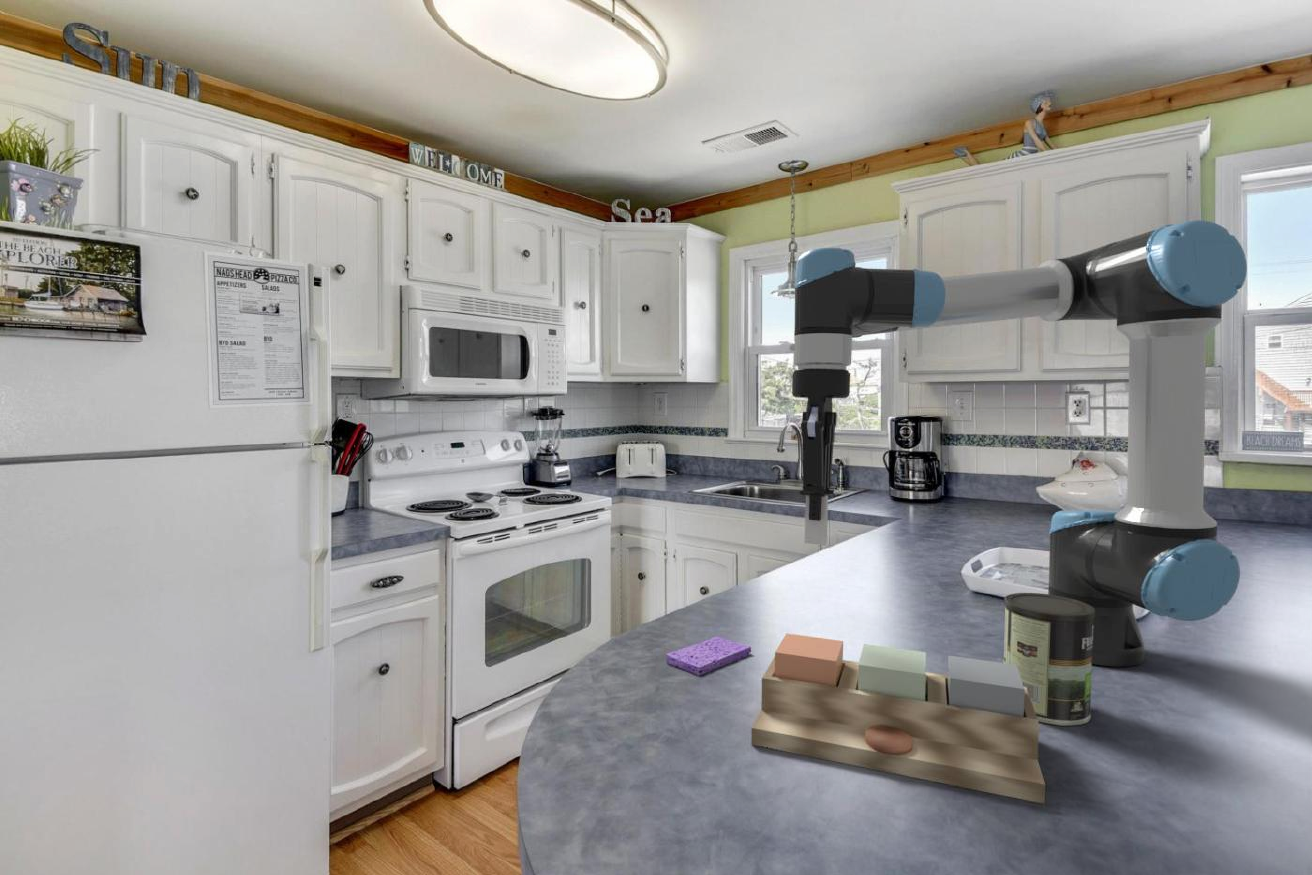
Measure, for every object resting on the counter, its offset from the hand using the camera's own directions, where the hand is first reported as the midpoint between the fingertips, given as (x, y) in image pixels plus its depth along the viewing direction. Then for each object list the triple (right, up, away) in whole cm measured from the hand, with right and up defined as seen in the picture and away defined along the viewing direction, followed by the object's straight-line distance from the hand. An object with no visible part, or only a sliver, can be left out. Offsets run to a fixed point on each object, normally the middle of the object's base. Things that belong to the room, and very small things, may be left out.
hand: (815, 542), depth 91 cm
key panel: (+6, -22, -11) cm, 25 cm away
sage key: (+7, -18, -9) cm, 21 cm away
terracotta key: (-2, -17, -5) cm, 18 cm away
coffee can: (+30, -22, -2) cm, 37 cm away
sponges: (-13, -21, +14) cm, 29 cm away
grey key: (+16, -18, -13) cm, 27 cm away
